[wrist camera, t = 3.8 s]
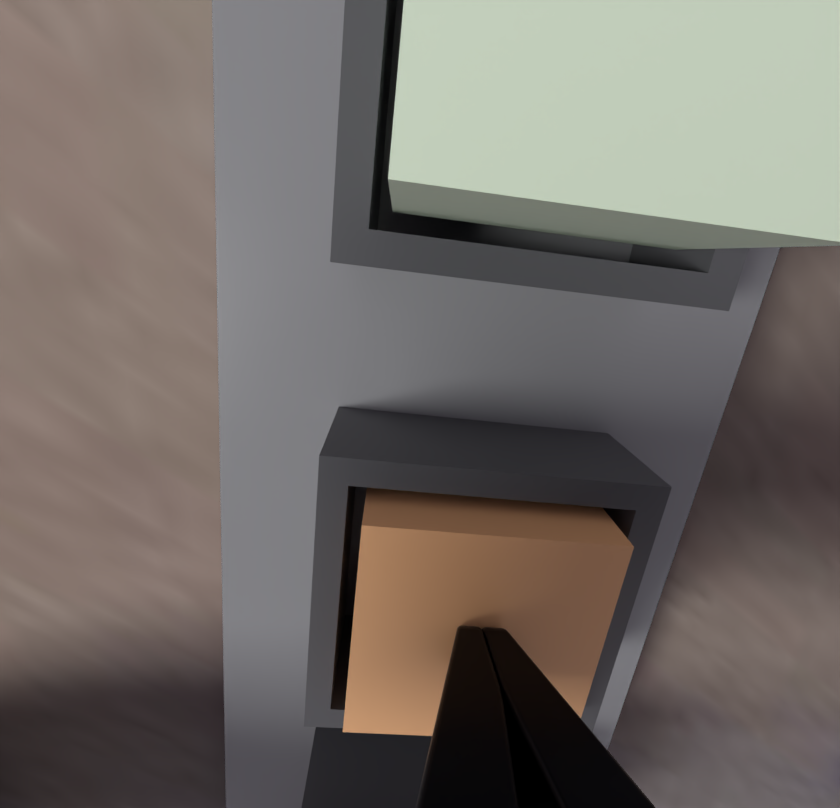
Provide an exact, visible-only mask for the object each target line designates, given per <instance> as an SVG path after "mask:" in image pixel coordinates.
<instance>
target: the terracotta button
mask: <svg viewBox="0 0 840 808" xmlns="http://www.w3.org/2000/svg"><path fill="white" fill-rule="evenodd" d="M633 549H634V546H633V545H632V544H631V542H630V541H629V540H628V539H627V537H626V536H625V535H624V534H623V532H622V531H621V530H620V529H619V528H618V526H617V525H616V524H615V523H614V521H613V520H612V519H611V518H610V516H609V515H608V514H607V513H606V511H605V510H604V509H603V508H602V507H591V506H579V505H567V504H555V503H544V502H532V501H520V500H508V499H497V498H485V497H473V496H461V495H450V494H438V493H426V492H415V491H403V490H391V489H379V488H368V487H367V491H366V498H365V505H364V513H363V520H362V528H361V538H360V549H359V560H358V571H357V582H356V593H355V603H354V614H353V625H352V636H351V647H350V657H349V668H348V679H347V690H346V701H345V712H344V722H343V732H350V733H374V734H397V735H421V736H432V735H433V730H434V726H435V722H436V717H437V713H438V709H439V704H440V700H441V696H442V691H443V687H444V683H445V678H446V674H447V670H448V665H449V661H450V657H451V652H452V648H453V644H454V639H455V635H456V631H457V628H458V627H459V626H477V627H479V628H481V629H482V628H484V627H494V628H504V629H505V630H507V631H508V632H509V633H510V634H511V636H512V637H513V638H514V639H515V640H516V642H517V643H518V644H519V645H520V646H521V648H522V649H523V650H524V651H525V652H526V653H527V655H528V656H529V657H530V658H531V659H532V661H533V662H534V663H535V664H536V665H537V667H538V668H539V669H540V670H541V671H542V673H543V674H544V675H545V676H546V677H547V679H548V680H549V681H550V682H551V683H552V685H553V686H554V687H555V688H556V689H557V691H558V692H559V693H560V694H561V695H562V697H563V698H564V699H565V700H566V701H567V703H568V704H569V705H570V706H571V707H572V708H573V710H574V711H575V712H576V713H577V714H578V716H579V717H580V718H581V717H582V713H583V710H584V707H585V704H586V701H587V697H588V694H589V691H590V688H591V684H592V681H593V678H594V675H595V671H596V668H597V665H598V662H599V659H600V655H601V652H602V649H603V646H604V642H605V639H606V636H607V633H608V629H609V626H610V623H611V620H612V617H613V613H614V610H615V607H616V604H617V600H618V597H619V594H620V591H621V587H622V584H623V581H624V578H625V575H626V571H627V568H628V565H629V562H630V558H631V555H632V552H633Z"/></svg>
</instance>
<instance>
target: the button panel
mask: <svg viewBox="0 0 840 808" xmlns="http://www.w3.org/2000/svg"><path fill="white" fill-rule="evenodd" d="M403 4H404V0H212V24H213V83H214V142H215V200H216V259H217V318H218V376H219V435H220V494H221V552H222V611H223V670H224V728H225V787H226V808H416V804H417V799H418V795H419V791H420V786H421V782H422V778H423V773H424V769H425V765H426V760H427V756H428V752H429V748H430V743H431V739H432V736H421V735H397V734H374V733H350V732H343V722H344V712H345V701H346V690H347V679H348V668H349V657H350V647H351V636H352V625H353V614H354V603H355V593H356V582H357V571H358V560H359V549H360V538H361V528H362V520H363V513H364V505H365V498H366V491H367V487H368V488H379V489H391V490H403V491H415V492H426V493H438V494H450V495H461V496H473V497H485V498H497V499H508V500H520V501H532V502H544V503H555V504H567V505H579V506H591V507H602V508H603V509H604V510H605V511H606V513H607V514H608V515H609V516H610V518H611V519H612V520H613V521H614V523H615V524H616V525H617V526H618V528H619V529H620V530H621V531H622V532H623V534H624V535H625V536H626V537H627V539H628V540H629V541H630V542H631V544H632V545H633V546H634V549H633V552H632V555H631V558H630V562H629V565H628V568H627V571H626V575H625V578H624V581H623V584H622V587H621V591H620V594H619V597H618V600H617V604H616V607H615V610H614V613H613V617H612V620H611V623H610V626H609V629H608V633H607V636H606V639H605V642H604V646H603V649H602V652H601V655H600V659H599V662H598V665H597V668H596V671H595V675H594V678H593V681H592V684H591V688H590V691H589V694H588V697H587V701H586V704H585V707H584V710H583V713H582V717H581V719H582V720H583V722H584V723H585V724H586V725H587V726H588V728H589V729H590V730H591V731H592V732H593V734H594V735H595V736H596V737H597V738H598V740H599V741H600V742H601V743H602V744H603V746H604V747H605V748H606V749H607V750H608V747H609V744H610V741H611V738H612V736H613V733H614V730H615V727H616V724H617V721H618V718H619V715H620V712H621V709H622V706H623V704H624V701H625V698H626V695H627V692H628V689H629V686H630V683H631V680H632V677H633V674H634V672H635V669H636V666H637V663H638V660H639V657H640V654H641V651H642V648H643V645H644V642H645V640H646V637H647V634H648V631H649V628H650V625H651V622H652V619H653V616H654V613H655V611H656V608H657V605H658V602H659V599H660V596H661V593H662V590H663V587H664V584H665V581H666V579H667V576H668V573H669V570H670V567H671V564H672V561H673V558H674V555H675V552H676V549H677V547H678V544H679V541H680V538H681V535H682V532H683V529H684V526H685V523H686V520H687V517H688V515H689V512H690V509H691V506H692V503H693V500H694V497H695V494H696V491H697V488H698V485H699V483H700V480H701V477H702V474H703V471H704V468H705V465H706V462H707V459H708V456H709V453H710V451H711V448H712V445H713V442H714V439H715V436H716V433H717V430H718V427H719V424H720V421H721V419H722V416H723V413H724V410H725V407H726V404H727V401H728V398H729V395H730V392H731V389H732V387H733V384H734V381H735V378H736V375H737V372H738V369H739V366H740V363H741V360H742V358H743V355H744V352H745V349H746V346H747V343H748V340H749V337H750V334H751V331H752V328H753V326H754V323H755V320H756V317H757V314H758V311H759V308H760V305H761V302H762V299H763V296H764V294H765V291H766V288H767V285H768V282H769V279H770V276H771V273H772V270H773V267H774V264H775V262H776V259H777V256H778V253H779V250H780V247H768V248H725V249H683V250H674V249H666V248H659V247H651V246H644V245H636V244H629V243H621V242H614V241H606V240H599V239H591V238H584V237H576V236H569V235H561V234H554V233H546V232H539V231H531V230H524V229H516V228H509V227H501V226H494V225H486V224H479V223H471V222H464V221H456V220H449V219H441V218H434V217H426V216H419V215H411V214H404V213H396V212H393V210H392V203H391V197H390V190H389V183H388V173H389V162H390V150H391V139H392V128H393V117H394V105H395V94H396V83H397V72H398V60H399V49H400V38H401V27H402V15H403Z"/></svg>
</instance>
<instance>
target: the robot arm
mask: <svg viewBox="0 0 840 808" xmlns="http://www.w3.org/2000/svg"><path fill="white" fill-rule="evenodd" d="M416 808H655V807H654V805H653V804H652V803H651V802H650V801H649V799H648V798H647V797H646V796H645V795H644V793H643V792H642V791H641V790H640V789H639V787H638V786H637V785H636V784H635V783H634V781H633V780H632V779H631V778H630V777H629V775H628V774H627V773H626V772H625V771H624V769H623V768H622V767H621V766H620V765H619V763H618V762H617V761H616V760H615V759H614V757H613V756H612V755H611V754H610V753H609V752H608V750H607V749H606V748H605V747H604V746H603V744H602V743H601V742H600V741H599V740H598V738H597V737H596V736H595V735H594V734H593V732H592V731H591V730H590V729H589V728H588V726H587V725H586V724H585V723H584V722H583V720H582V719H581V718H580V717H579V716H578V714H577V713H576V712H575V711H574V710H573V708H572V707H571V706H570V705H569V704H568V703H567V701H566V700H565V699H564V698H563V697H562V695H561V694H560V693H559V692H558V691H557V689H556V688H555V687H554V686H553V685H552V683H551V682H550V681H549V680H548V679H547V677H546V676H545V675H544V674H543V673H542V671H541V670H540V669H539V668H538V667H537V665H536V664H535V663H534V662H533V661H532V659H531V658H530V657H529V656H528V655H527V653H526V652H525V651H524V650H523V649H522V648H521V646H520V645H519V644H518V643H517V642H516V640H515V639H514V638H513V637H512V636H511V634H510V633H509V632H508V631H507V630H505V629H504V628H494V627H484V628H482V629H481V628H479V627H477V626H459V627H458V628H457V631H456V635H455V639H454V644H453V648H452V652H451V657H450V661H449V665H448V670H447V674H446V678H445V683H444V687H443V691H442V696H441V700H440V704H439V709H438V713H437V717H436V722H435V726H434V730H433V735H432V739H431V743H430V748H429V752H428V756H427V760H426V765H425V769H424V773H423V778H422V782H421V786H420V791H419V795H418V799H417V804H416Z"/></svg>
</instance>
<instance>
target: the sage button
mask: <svg viewBox="0 0 840 808" xmlns="http://www.w3.org/2000/svg"><path fill="white" fill-rule="evenodd" d="M388 183H389V190H390V197H391V203H392V210H393V212H396V213H404V214H411V215H419V216H426V217H434V218H441V219H449V220H456V221H464V222H471V223H479V224H486V225H494V226H501V227H509V228H516V229H524V230H531V231H539V232H546V233H554V234H561V235H569V236H576V237H584V238H591V239H599V240H606V241H614V242H621V243H629V244H636V245H644V246H651V247H659V248H666V249H674V250H683V249H725V248H768V247H810V246H840V0H404V4H403V15H402V27H401V38H400V49H399V60H398V72H397V83H396V94H395V105H394V117H393V128H392V139H391V150H390V162H389V173H388Z"/></svg>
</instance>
